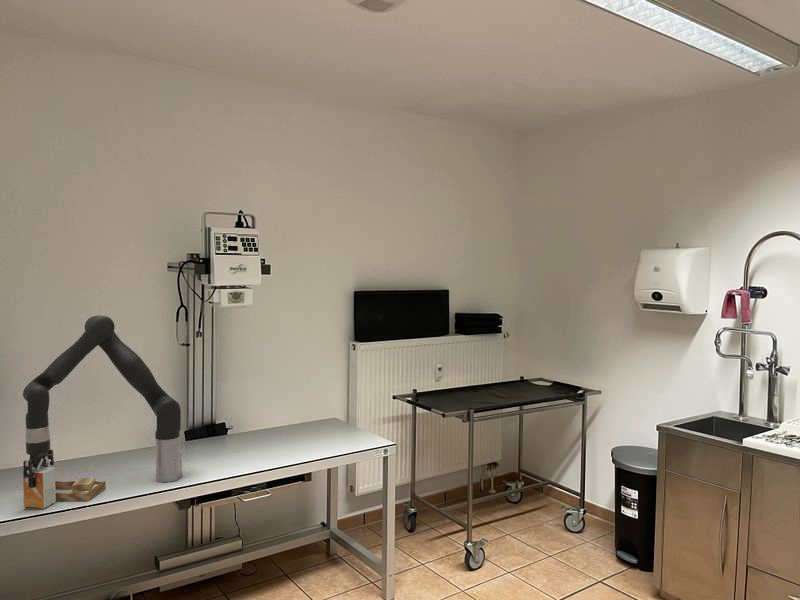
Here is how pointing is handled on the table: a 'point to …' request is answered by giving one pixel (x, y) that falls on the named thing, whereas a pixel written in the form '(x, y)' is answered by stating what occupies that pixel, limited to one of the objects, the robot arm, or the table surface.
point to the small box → (41, 489)
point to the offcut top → (83, 484)
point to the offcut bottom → (83, 491)
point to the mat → (35, 508)
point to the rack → (77, 496)
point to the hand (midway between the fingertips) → (39, 483)
